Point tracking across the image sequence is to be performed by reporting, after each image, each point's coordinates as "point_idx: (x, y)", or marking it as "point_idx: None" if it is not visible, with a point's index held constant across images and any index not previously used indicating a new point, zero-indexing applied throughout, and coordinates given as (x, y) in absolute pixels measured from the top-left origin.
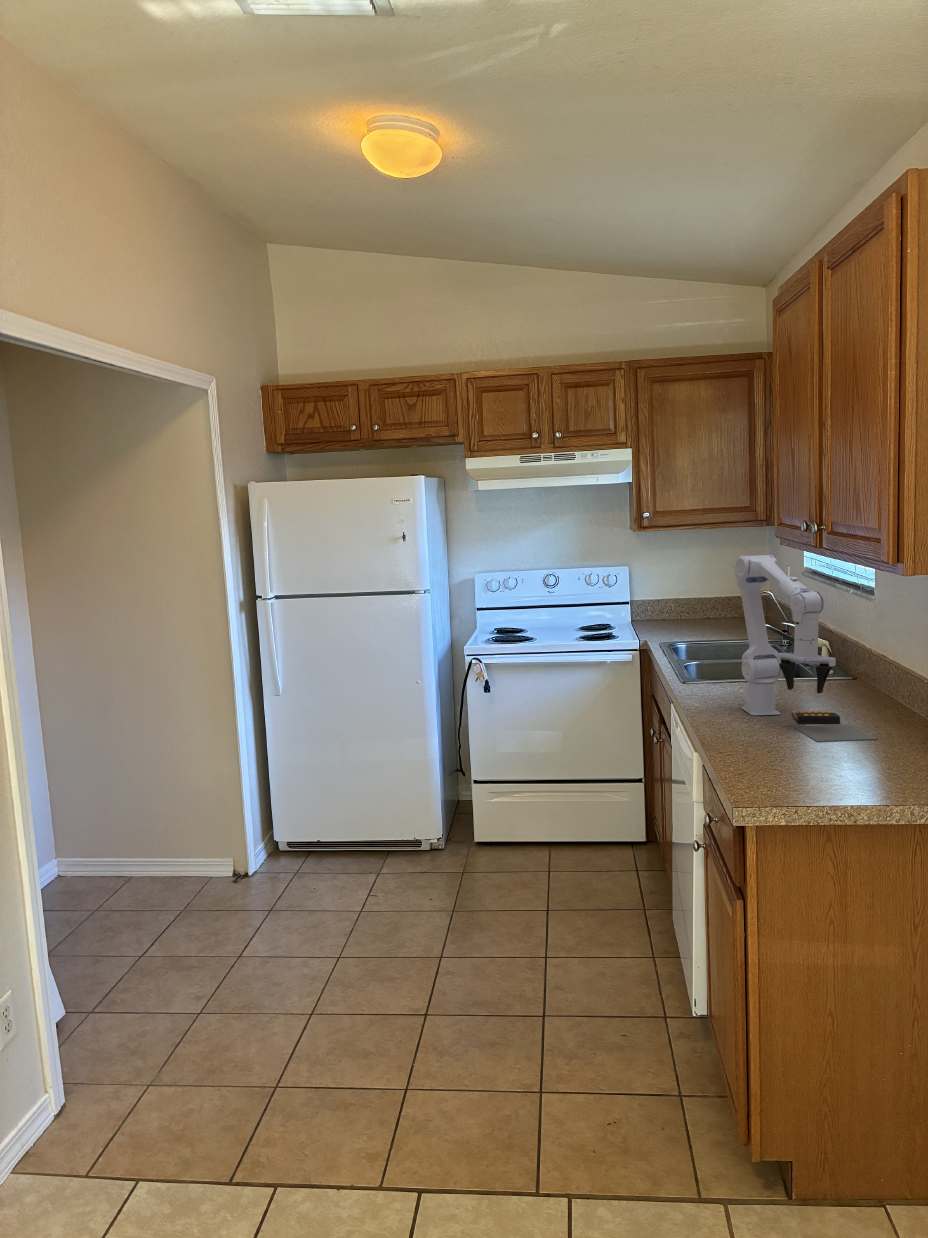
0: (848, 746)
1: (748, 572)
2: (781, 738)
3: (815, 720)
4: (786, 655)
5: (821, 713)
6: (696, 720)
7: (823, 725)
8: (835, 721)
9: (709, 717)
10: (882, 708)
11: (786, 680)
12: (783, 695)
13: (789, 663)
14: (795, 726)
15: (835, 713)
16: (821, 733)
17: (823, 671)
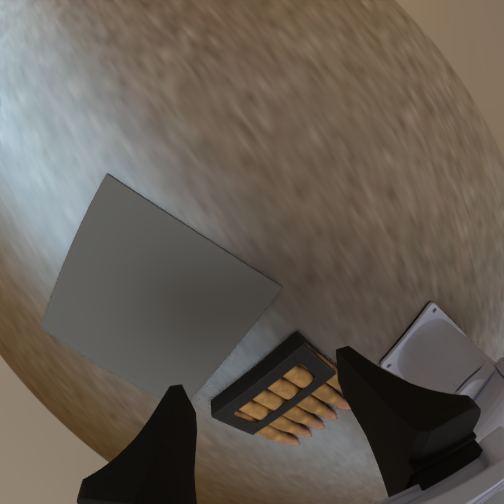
0: (32, 211)
1: None
2: (220, 124)
3: (259, 369)
4: (468, 499)
5: (272, 412)
6: (494, 157)
7: (221, 357)
8: (218, 399)
9: (490, 207)
10: (238, 501)
11: (376, 368)
12: None
13: (415, 467)
14: (276, 288)
15: (244, 431)
16: (157, 272)
17: (92, 478)
